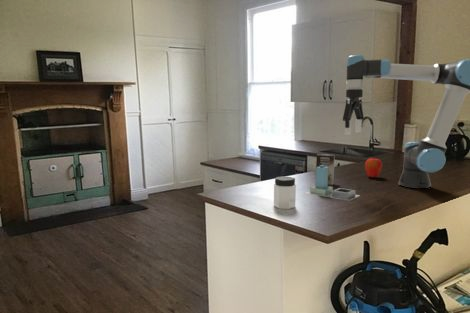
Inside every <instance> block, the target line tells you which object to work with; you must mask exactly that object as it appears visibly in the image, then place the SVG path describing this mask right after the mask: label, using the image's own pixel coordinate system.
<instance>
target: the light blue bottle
mask: <svg viewBox="0 0 470 313" xmlns="http://www.w3.org/2000/svg"><path fill="white" fill-rule="evenodd" d="M315 182H316V185H315V186H316V188H321V189H326V188H327V186H329V184H328V167H325V165H320V167H316V166H315Z"/></svg>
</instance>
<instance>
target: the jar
mask: <svg viewBox="0 0 470 313" xmlns="http://www.w3.org/2000/svg"><path fill="white" fill-rule="evenodd" d="M296 192H297V185H296V178H295V177H292V176H277V177H275V180H274V184H273V206H274V207H276V208H277V209H280V210H291V209H293V208H295V207H296V200H297V199H296V194H297V193H296Z"/></svg>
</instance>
